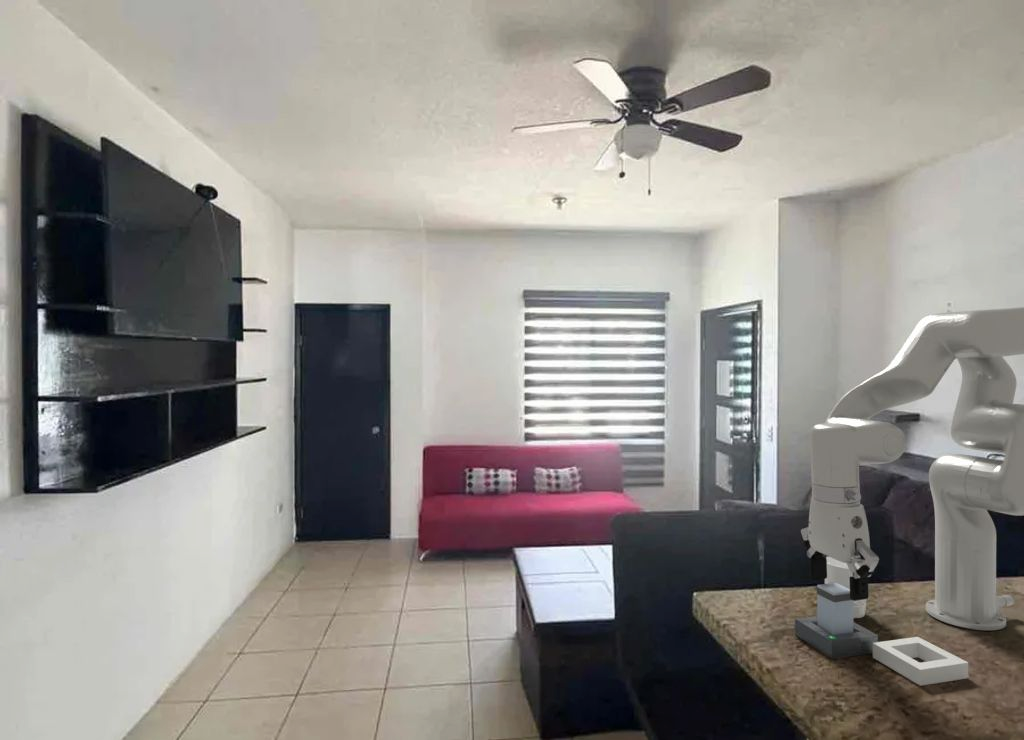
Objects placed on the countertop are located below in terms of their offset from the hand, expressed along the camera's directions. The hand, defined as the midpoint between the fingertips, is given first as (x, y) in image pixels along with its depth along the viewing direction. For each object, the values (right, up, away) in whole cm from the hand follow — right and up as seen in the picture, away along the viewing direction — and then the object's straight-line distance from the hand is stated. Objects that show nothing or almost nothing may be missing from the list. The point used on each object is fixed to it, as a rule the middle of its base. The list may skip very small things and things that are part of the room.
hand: (838, 588), depth 109 cm
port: (-1, -10, 0) cm, 10 cm away
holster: (+9, -10, -9) cm, 16 cm away
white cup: (+9, -10, +13) cm, 19 cm away
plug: (-1, -10, 0) cm, 10 cm away
